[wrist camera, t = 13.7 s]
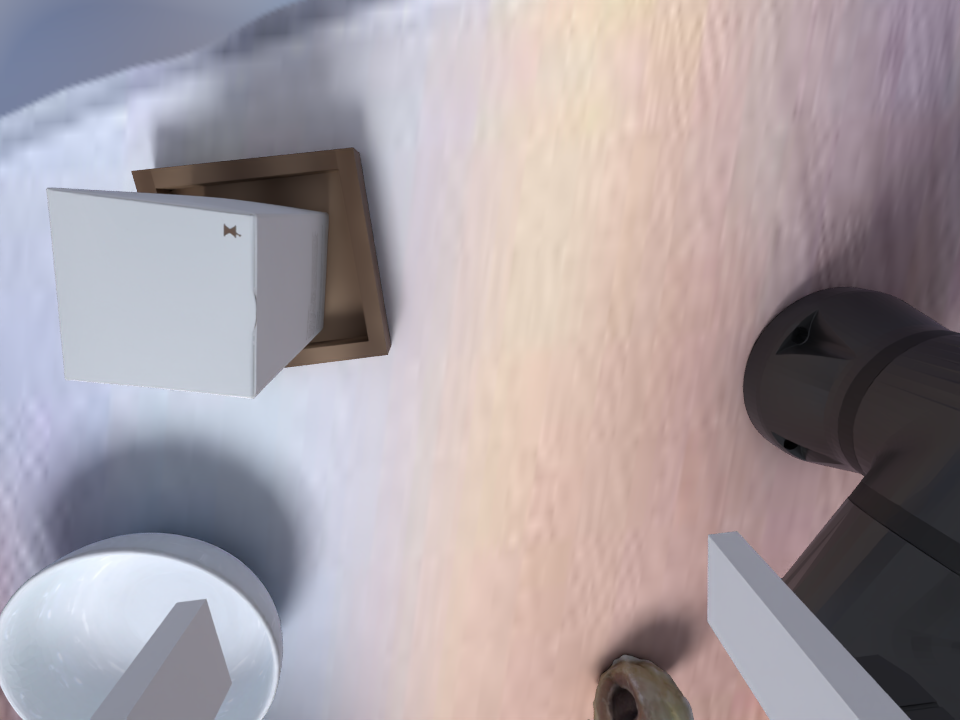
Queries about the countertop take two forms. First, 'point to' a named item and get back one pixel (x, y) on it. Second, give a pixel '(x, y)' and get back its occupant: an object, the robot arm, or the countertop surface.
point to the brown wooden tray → (350, 251)
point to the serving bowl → (132, 624)
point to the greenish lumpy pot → (639, 693)
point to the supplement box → (184, 288)
